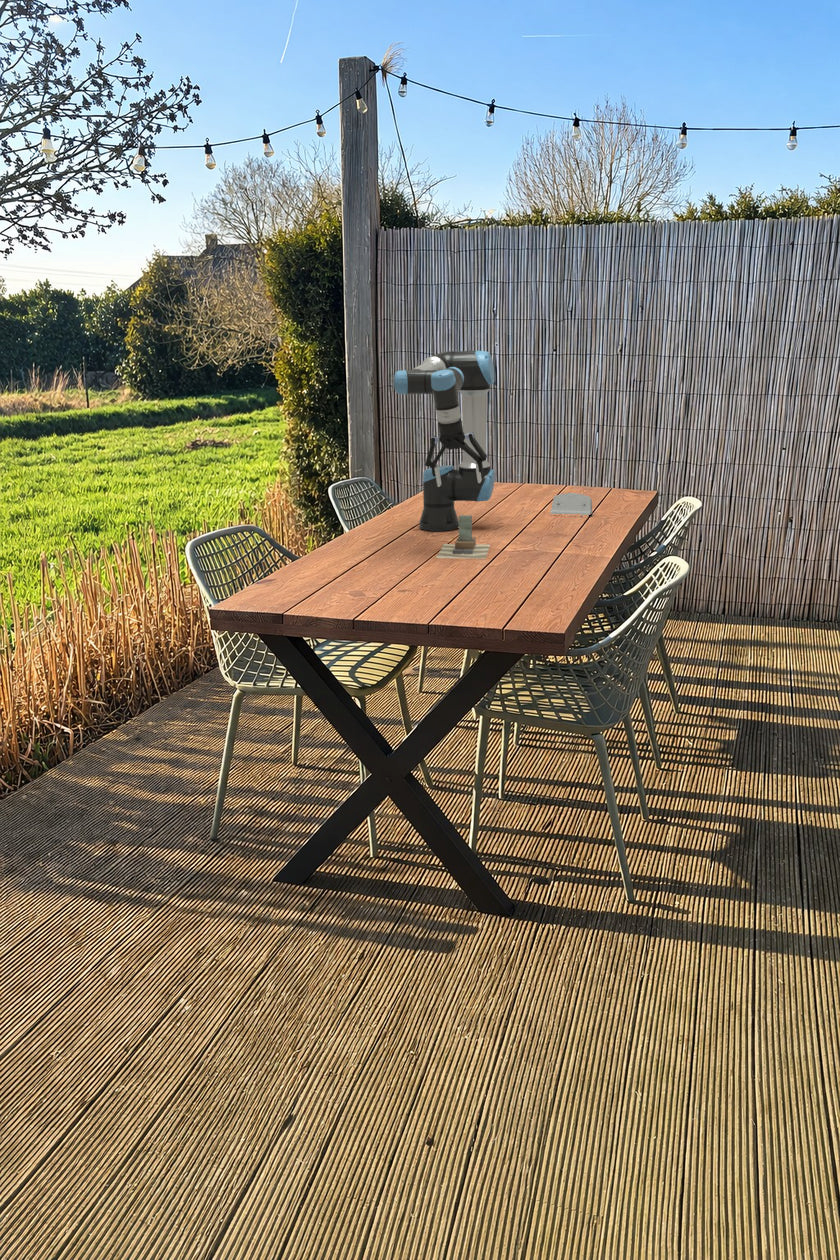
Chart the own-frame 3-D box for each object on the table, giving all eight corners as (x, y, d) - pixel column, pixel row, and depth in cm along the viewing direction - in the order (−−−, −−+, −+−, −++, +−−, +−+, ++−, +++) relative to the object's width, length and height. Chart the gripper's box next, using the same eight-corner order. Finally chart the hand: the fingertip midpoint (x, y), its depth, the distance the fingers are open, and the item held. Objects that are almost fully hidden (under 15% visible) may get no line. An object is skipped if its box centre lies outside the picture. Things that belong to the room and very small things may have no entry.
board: (443, 548, 336) (443, 544, 336) (490, 548, 334) (490, 544, 333) (435, 562, 315) (435, 558, 315) (485, 563, 313) (485, 558, 313)
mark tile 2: (463, 552, 323) (463, 549, 322) (473, 552, 322) (473, 549, 322) (463, 554, 320) (463, 551, 320) (472, 554, 319) (472, 551, 319)
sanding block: (458, 544, 335) (457, 513, 332) (475, 544, 334) (475, 513, 331) (455, 550, 325) (454, 518, 322) (473, 550, 325) (473, 519, 322)
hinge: (549, 515, 393) (551, 491, 393) (551, 517, 397) (553, 493, 398) (590, 517, 387) (592, 492, 388) (592, 519, 392) (594, 495, 392)
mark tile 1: (453, 551, 323) (453, 549, 323) (462, 552, 323) (462, 549, 322) (452, 553, 320) (452, 550, 320) (461, 554, 320) (461, 551, 320)
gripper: (409, 427, 311) (420, 490, 320) (486, 419, 304) (495, 484, 313) (414, 420, 317) (425, 482, 327) (489, 412, 310) (498, 476, 320)
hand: (459, 483), depth 320 cm, fingers open, 13 cm apart
